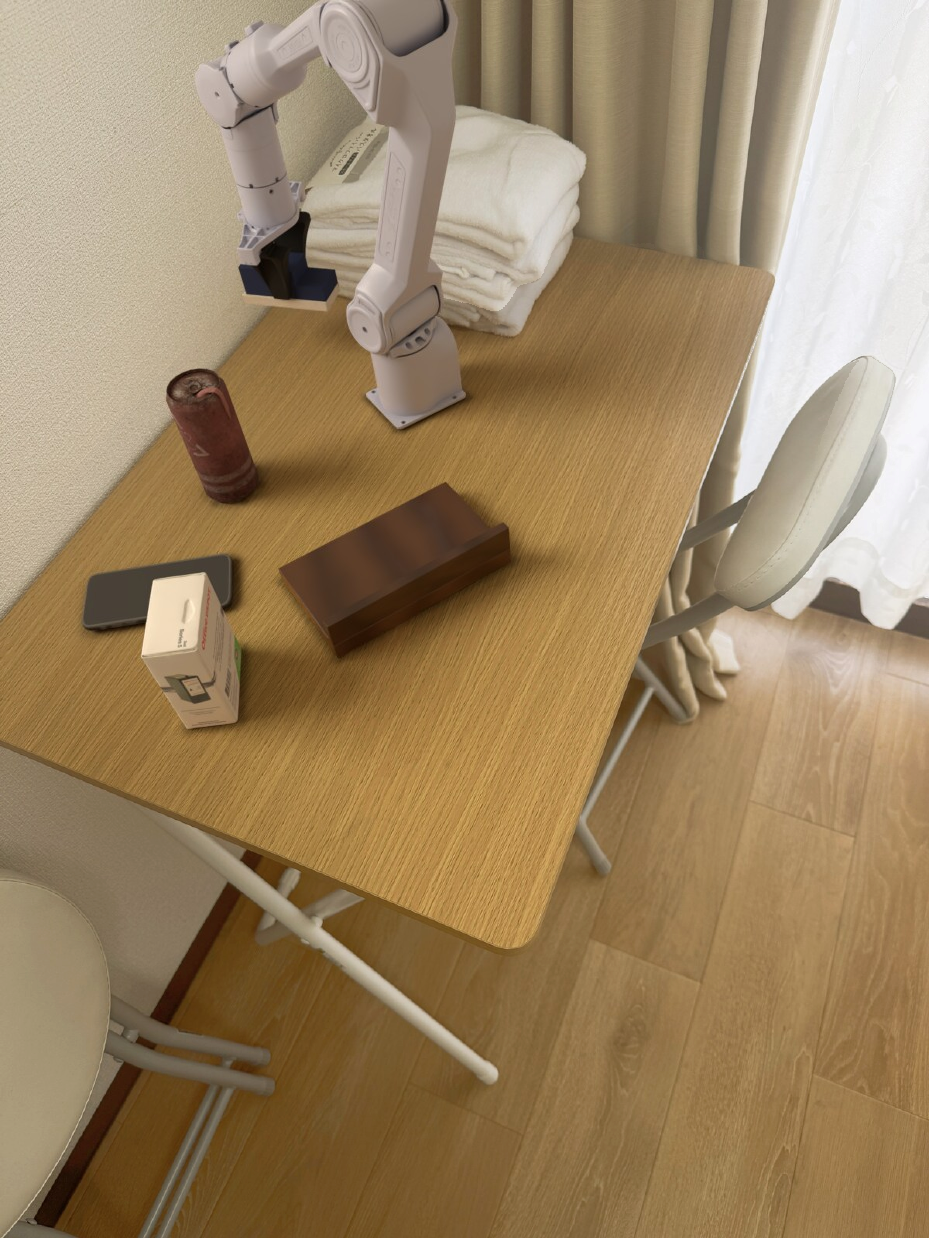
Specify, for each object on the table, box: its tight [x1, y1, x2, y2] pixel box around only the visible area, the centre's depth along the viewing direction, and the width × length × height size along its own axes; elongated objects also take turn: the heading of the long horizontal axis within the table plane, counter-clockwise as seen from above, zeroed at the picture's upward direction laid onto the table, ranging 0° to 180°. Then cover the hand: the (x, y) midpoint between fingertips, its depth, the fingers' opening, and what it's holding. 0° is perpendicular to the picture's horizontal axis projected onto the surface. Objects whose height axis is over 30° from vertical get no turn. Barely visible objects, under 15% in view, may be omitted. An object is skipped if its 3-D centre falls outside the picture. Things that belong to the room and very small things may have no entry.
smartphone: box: [81, 553, 234, 632], centre depth 93 cm, size 7×1×15 cm
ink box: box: [140, 573, 243, 730], centre depth 81 cm, size 9×5×12 cm, turn 5°
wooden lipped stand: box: [277, 481, 512, 659], centre depth 90 cm, size 20×12×5 cm, turn 123°
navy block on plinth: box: [238, 252, 341, 313], centre depth 110 cm, size 11×4×5 cm, turn 74°
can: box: [165, 367, 259, 504], centre depth 97 cm, size 6×6×14 cm
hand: (290, 286), depth 110 cm, fingers closed on navy block on plinth, 4 cm apart
